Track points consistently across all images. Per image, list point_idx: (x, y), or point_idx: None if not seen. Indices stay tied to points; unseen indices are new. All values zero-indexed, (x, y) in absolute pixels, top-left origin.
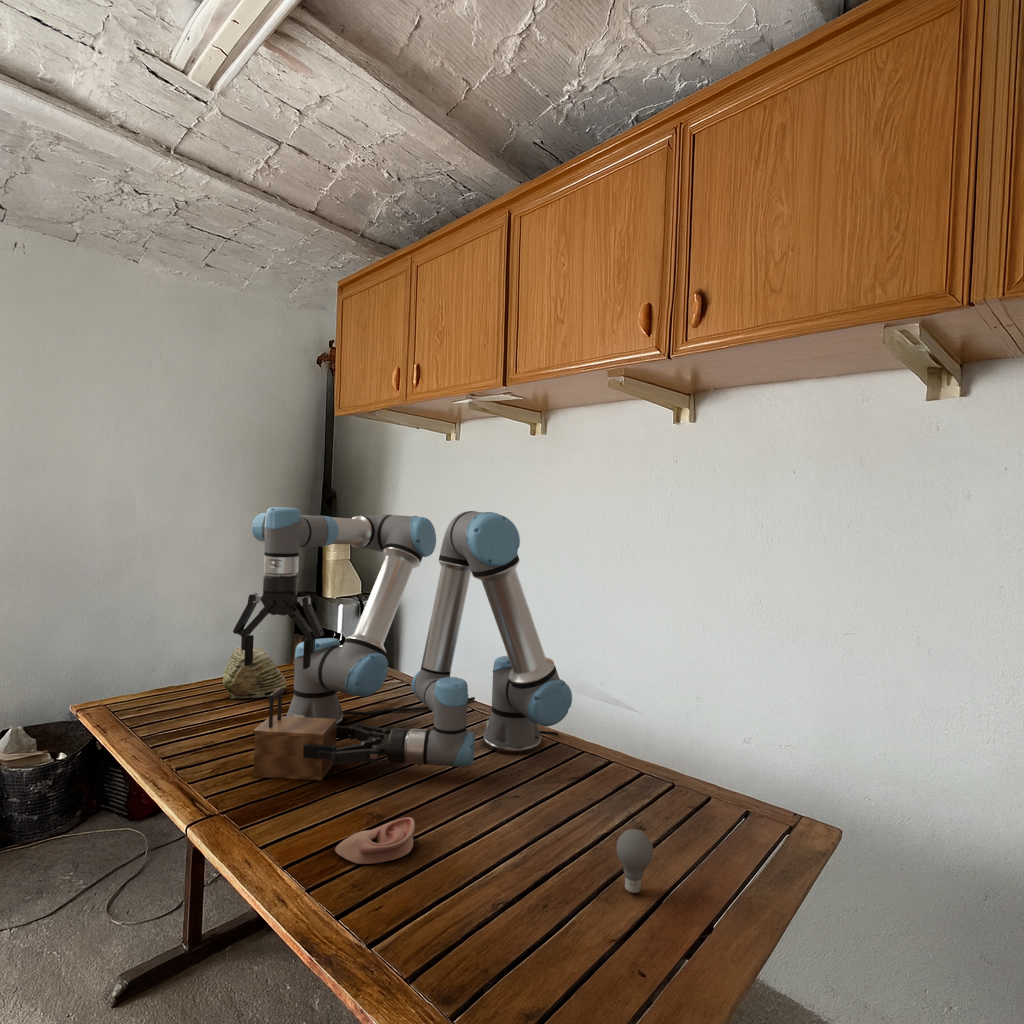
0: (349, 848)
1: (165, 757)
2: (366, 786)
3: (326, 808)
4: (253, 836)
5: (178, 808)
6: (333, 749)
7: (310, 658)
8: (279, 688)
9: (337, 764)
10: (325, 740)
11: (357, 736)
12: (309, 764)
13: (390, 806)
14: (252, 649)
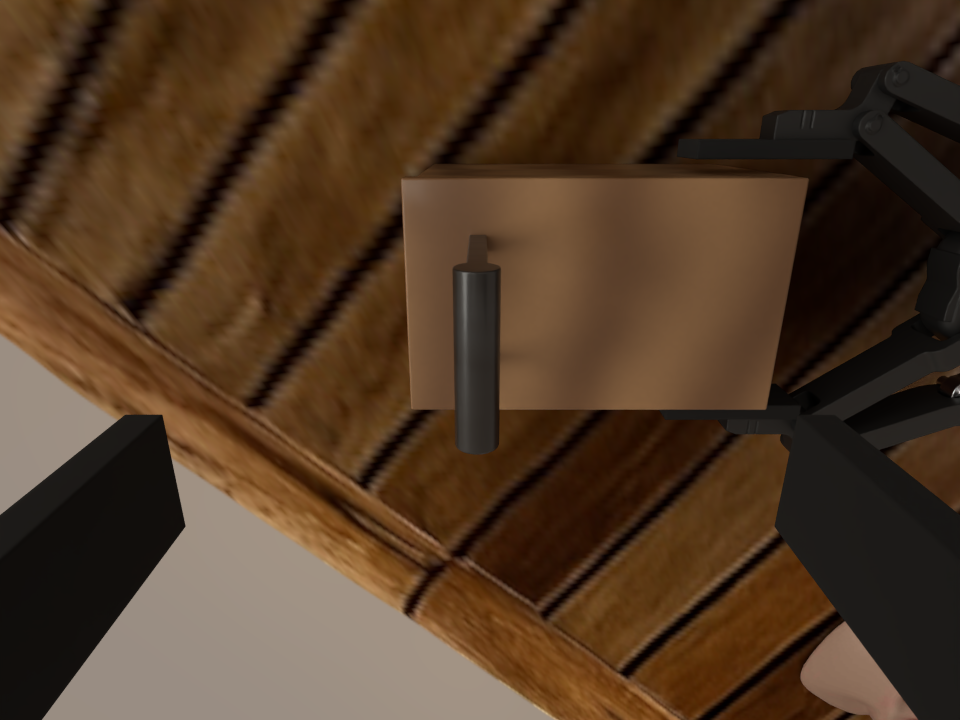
0: (842, 698)
1: (2, 211)
2: None
3: (743, 504)
4: (588, 638)
5: (325, 546)
6: None
7: (890, 463)
8: (475, 304)
9: None
10: None
11: (880, 172)
12: None
13: (938, 473)
14: (62, 528)
